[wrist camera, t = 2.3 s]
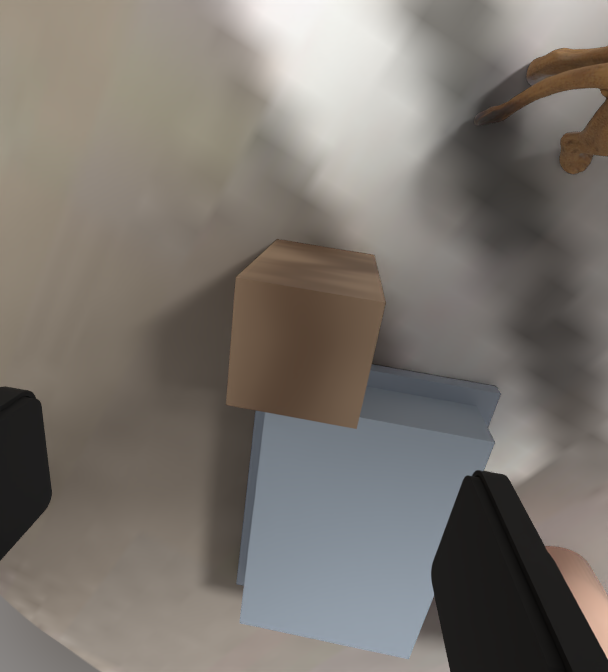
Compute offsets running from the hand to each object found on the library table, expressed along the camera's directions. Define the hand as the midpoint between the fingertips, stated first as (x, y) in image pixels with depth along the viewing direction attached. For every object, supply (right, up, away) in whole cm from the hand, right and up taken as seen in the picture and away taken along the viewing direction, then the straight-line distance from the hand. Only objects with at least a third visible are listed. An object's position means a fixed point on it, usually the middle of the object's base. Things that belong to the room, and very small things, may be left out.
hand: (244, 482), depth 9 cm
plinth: (+4, -7, +18) cm, 19 cm away
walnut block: (+2, +5, +13) cm, 14 cm away
